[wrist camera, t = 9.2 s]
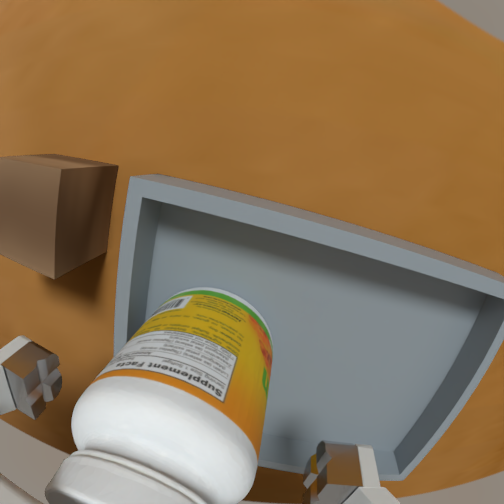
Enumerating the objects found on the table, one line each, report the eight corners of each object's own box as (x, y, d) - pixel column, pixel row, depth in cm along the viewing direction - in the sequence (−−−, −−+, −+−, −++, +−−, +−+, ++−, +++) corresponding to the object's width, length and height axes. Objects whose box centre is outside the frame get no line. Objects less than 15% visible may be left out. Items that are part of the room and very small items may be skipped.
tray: (158, 173, 12) (130, 176, 10) (497, 273, 12) (525, 291, 9) (133, 393, 16) (115, 419, 13) (395, 451, 15) (402, 480, 13)
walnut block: (56, 154, 13) (-3, 157, 9) (119, 165, 13) (61, 169, 9) (48, 231, 14) (-7, 251, 10) (108, 251, 14) (54, 279, 10)
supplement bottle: (254, 400, 14) (213, 587, 5) (149, 364, 14) (45, 518, 5) (291, 307, 13) (275, 547, 3) (165, 266, 13) (-9, 422, 4)
